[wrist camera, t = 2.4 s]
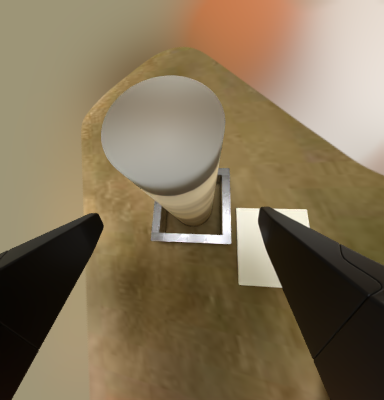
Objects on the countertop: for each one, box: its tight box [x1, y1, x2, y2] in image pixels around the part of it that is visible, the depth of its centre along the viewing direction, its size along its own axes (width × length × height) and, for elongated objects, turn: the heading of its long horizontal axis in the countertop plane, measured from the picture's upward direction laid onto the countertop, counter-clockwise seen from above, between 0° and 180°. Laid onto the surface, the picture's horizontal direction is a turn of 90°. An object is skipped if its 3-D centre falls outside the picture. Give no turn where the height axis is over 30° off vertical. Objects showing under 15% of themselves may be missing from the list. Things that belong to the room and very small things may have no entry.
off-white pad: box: [236, 208, 310, 288], centre depth 17 cm, size 8×8×1 cm
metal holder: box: [151, 168, 231, 244], centre depth 18 cm, size 8×8×2 cm
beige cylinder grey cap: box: [101, 76, 225, 226], centre depth 12 cm, size 4×4×14 cm
